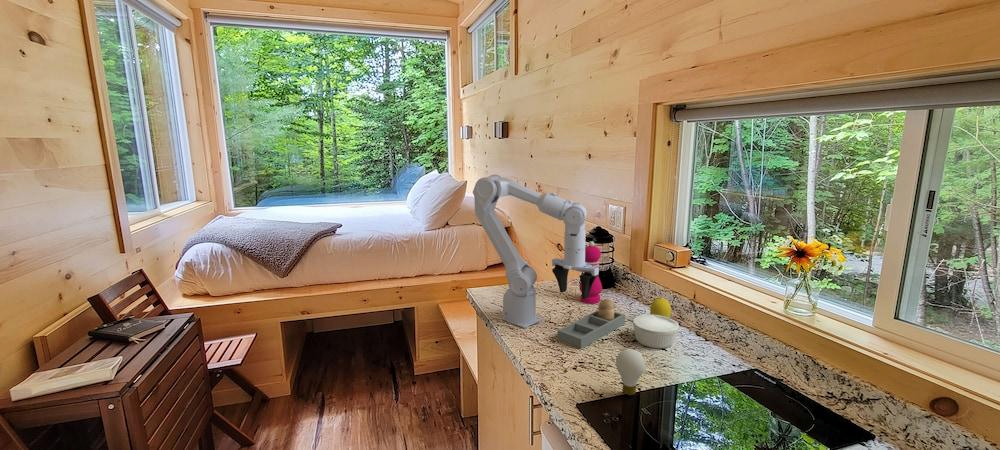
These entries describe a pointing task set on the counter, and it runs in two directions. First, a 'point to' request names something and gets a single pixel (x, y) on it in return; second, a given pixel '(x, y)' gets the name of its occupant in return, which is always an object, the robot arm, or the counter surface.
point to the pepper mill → (592, 258)
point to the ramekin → (655, 330)
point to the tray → (589, 329)
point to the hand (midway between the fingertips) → (574, 294)
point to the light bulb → (630, 369)
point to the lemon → (660, 307)
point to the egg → (606, 309)
